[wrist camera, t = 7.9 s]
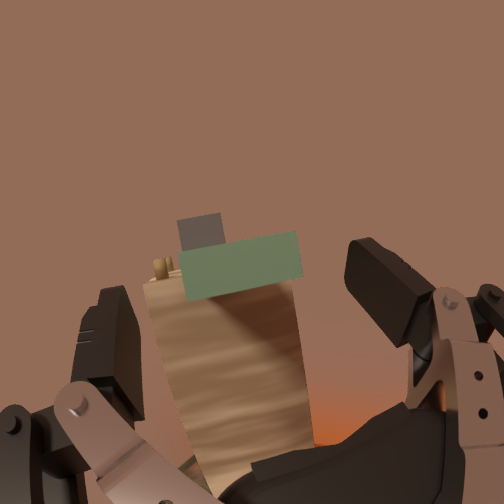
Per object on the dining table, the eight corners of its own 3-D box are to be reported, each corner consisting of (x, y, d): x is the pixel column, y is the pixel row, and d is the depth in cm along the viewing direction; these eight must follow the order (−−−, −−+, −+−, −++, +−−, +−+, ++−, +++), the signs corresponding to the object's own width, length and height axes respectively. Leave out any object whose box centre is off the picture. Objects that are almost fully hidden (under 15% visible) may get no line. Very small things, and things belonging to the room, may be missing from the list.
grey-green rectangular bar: (303, 276, 10) (278, 147, 10) (187, 301, 9) (163, 162, 9) (222, 261, 31) (214, 219, 31) (186, 268, 30) (178, 225, 30)
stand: (321, 521, 21) (282, 235, 20) (240, 545, 19) (138, 263, 18) (285, 462, 35) (243, 243, 34) (221, 478, 33) (157, 259, 32)
